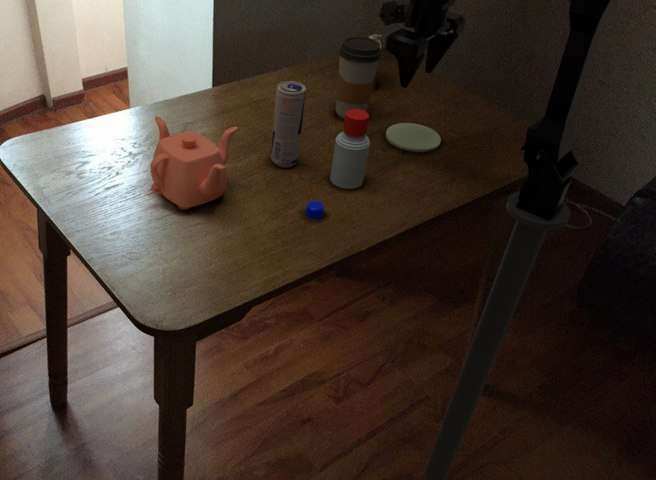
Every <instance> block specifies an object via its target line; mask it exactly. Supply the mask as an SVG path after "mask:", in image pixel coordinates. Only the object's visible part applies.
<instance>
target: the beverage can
mask: <svg viewBox="0 0 656 480" xmlns="http://www.w3.org/2000/svg"><path fill="white" fill-rule="evenodd" d="M306 90H307V88H306V86H305V85H304V84H303V83H300V82H299V81H292V80H287V81H281V82H279V83H278V84H277V85H276V90H275V100H274V101H275V102H274V114H273V125H272V126H273V127H272V138H271V149H270V151H271V152H270V160H271V161H272V163H273V164H274V165H275V166H277V167H279V168H285V169H286V168H291V167H293V166H294V165H296V164H297V163H298V162H299V156H300V155H299V154H300V147H301V136H302V130H303V129H302V128H303V120H304V112H305V110H304V109H305V102H306Z"/></svg>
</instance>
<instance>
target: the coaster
mask: <svg viewBox="0 0 656 480" xmlns="http://www.w3.org/2000/svg"><path fill="white" fill-rule="evenodd" d="M385 138H386V140H387V142H388V143H389V144H391V145H392V146H394V147H396V148H397V149H401V150H403V151H408V152H413V153H426V152H427V153H428V152H431V151H435V150H436V149H438V148H439V147H440V146H441V142H442V137H441V136H440V134H439V133H438V132H437V131H435V130H434V129H433V128H431V127H428V126H425V125H423V124H419V123H413V122H401V123H395V124H392V125H390V126H388V128H387V129H386V130H385Z"/></svg>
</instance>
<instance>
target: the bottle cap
mask: <svg viewBox="0 0 656 480" xmlns="http://www.w3.org/2000/svg"><path fill="white" fill-rule="evenodd" d="M324 208H325V207H324V204H323V203H322V202H320V201H317V200H315V201H310V202H308V203H307V205H306V210H305V215H306V216H307V217H308V218H310V219H313V220H318V219H322V218H323V217H324Z"/></svg>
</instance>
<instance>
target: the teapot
mask: <svg viewBox="0 0 656 480" xmlns="http://www.w3.org/2000/svg"><path fill="white" fill-rule="evenodd" d="M154 120H155V122H156V124H157V127H158V131H159V137H158V139H159V140H158V142H157V144H156V147H155V149H154V153H153V157H152V160H151V162H150V166H149V167H150V172H151V173H150V174H151V179H152V182H153V183H151V187H150V189H151V191H152V193H153V194H155V195H161V194H162V196H164V198H166V199H167V200H169V201H170V202H172V203H174V204H175V205H177V207H178V209H180V210H182V211H183V210H184V211H185V210H190V209H191V208H193V207H197V206H200V205H203V204H205V203H208V202H212V201H214V200H217V199H218V198H220V197H222V196H223V195H224V193H225V191H226V189H227V186H228V178H227V177H228V176H227V171H226V163H227V160H228V157H229V149H230V141H231V138H232V136H233V134H234V133H235V132H236V131H237V130H238V126H231V127H229V128H227V129H226V130H225V131H224V132H223V134H222V135H221V137H220V140H219V142H218V145H216V144H215V143H214V142H212V141H211V140H210V139H209V138H207V137H206V136H204V135H203V134H201V133H199V132H196V131H193V130H188V131H184V132H180V133H176V134H173V135H171V133H170V131H169V128H168V126H167V124H166V122H165V120H164V119H163V118H162V117H160V116H157V115H155V116H154Z"/></svg>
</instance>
